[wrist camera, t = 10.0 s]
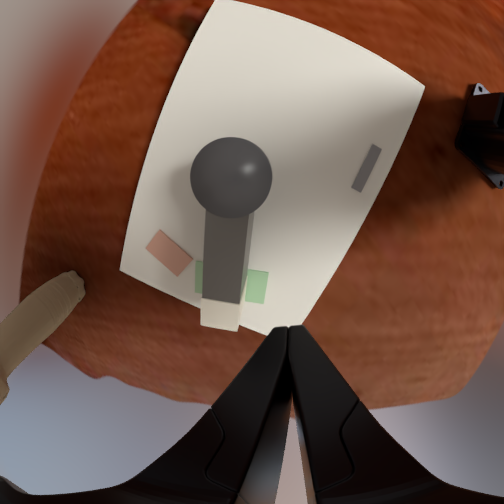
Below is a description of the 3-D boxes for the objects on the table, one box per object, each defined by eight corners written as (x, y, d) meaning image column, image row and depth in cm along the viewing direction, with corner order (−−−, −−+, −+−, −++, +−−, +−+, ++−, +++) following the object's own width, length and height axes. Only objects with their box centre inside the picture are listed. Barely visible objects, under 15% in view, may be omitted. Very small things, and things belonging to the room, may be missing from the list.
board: (418, 88, 14) (426, 86, 12) (288, 335, 22) (288, 344, 21) (219, 3, 13) (216, -4, 12) (125, 265, 21) (118, 271, 20)
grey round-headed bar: (212, 135, 16) (193, 134, 12) (278, 141, 15) (276, 141, 12) (203, 291, 20) (187, 322, 16) (256, 300, 20) (251, 333, 16)
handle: (53, 284, 24) (-36, 367, 10) (69, 246, 22) (-47, 335, 8) (83, 314, 25) (1, 411, 11) (103, 281, 22) (-3, 392, 9)
